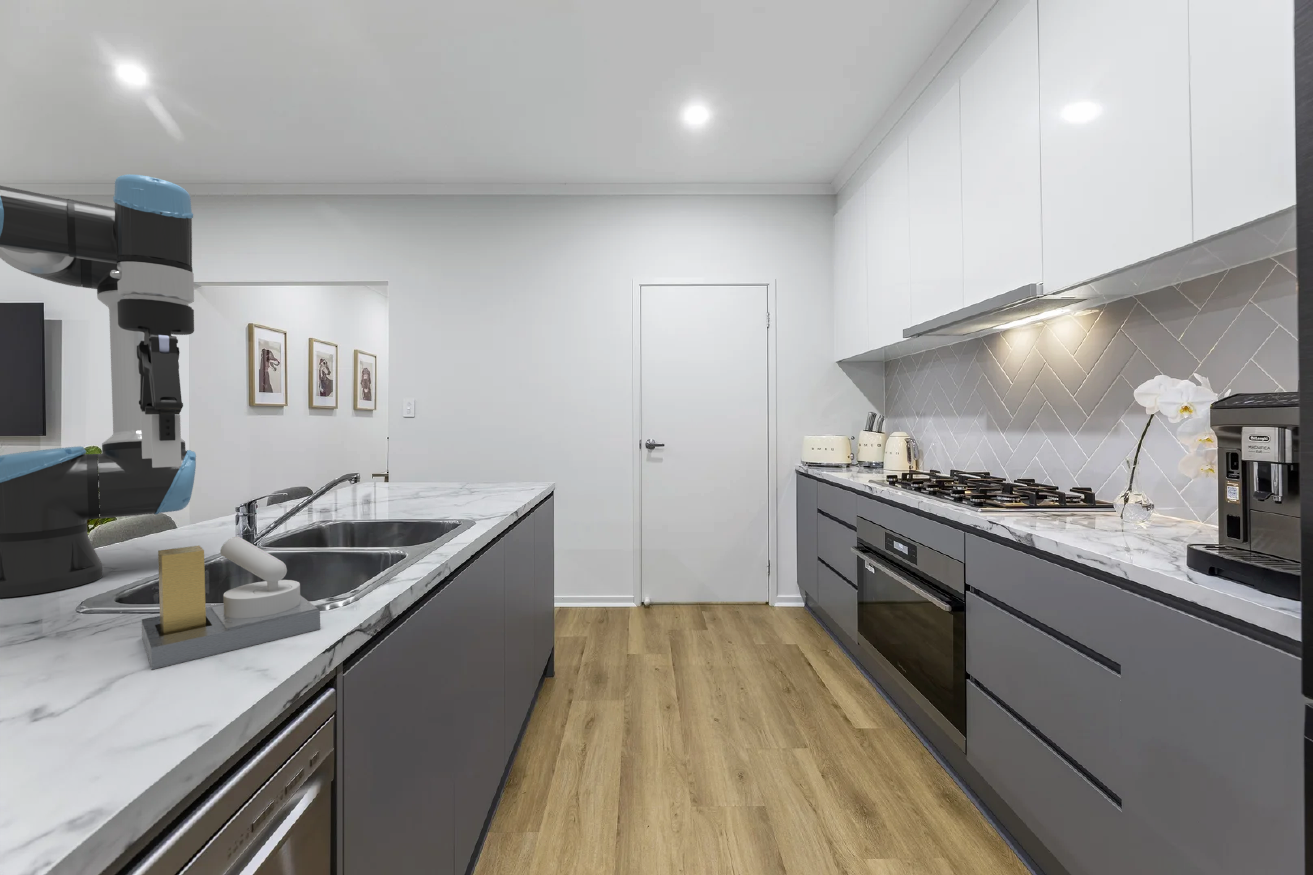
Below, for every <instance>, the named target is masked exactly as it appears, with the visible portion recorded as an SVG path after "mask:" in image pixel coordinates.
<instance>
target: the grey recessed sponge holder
mask: <svg viewBox="0 0 1313 875" xmlns="http://www.w3.org/2000/svg"><path fill="white" fill-rule="evenodd" d="M205 608H206V627H202V628H198V629H193V630H188V631H183V632H179V633H174V634H169V635H164V636H160V615H159V616H154V617H147V618H142V619H140V620H141V621H140V622H141V639H142V644H143V646H144V648H145V652H146V655H147V659H148V662H149V664H150V667H151V670H156V669H160V668H165V667H168V666H173V665H178V664H181V663H185V662H189V661H194V660H198V659H203V658H205V657H210V656H215V655H218V654H219V655H220V654H223V653H227V652H230V651H235V650H239V649H243V648H248V647H252V646H256V645H260V644H264V643H268V642H272V641H276V640H280V639H284V638H288V637H293V636H298V635H301V634H306V633H310V632H314V631H319V630H321V610H319V608H318V607H317V606H315V605H314V604H313V603H311V602H310V601H309V600H307V599H306V598H305V597H304V596H302V595H301V594H300V604H299V605H297V606H296V607H294V608H292V609H289V610H286V611H283V612H280V613H276V614H272V615H266V616H260V617H252V618H231V617H227V616H225V615H224V603H222V604H215V605H209V606H205Z"/></svg>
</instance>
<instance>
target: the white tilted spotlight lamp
mask: <svg viewBox="0 0 1313 875" xmlns="http://www.w3.org/2000/svg"><path fill="white" fill-rule="evenodd" d="M219 550H220V552H219V553H220V555H221V556H222V557H224V558H225V559H227V560H229V561H231V562H232V563H233V564H235V565H237V566H239V567H241V568H242V569H244V570H245V571H247V572H249V573H251V574H253V575H255V576H256V577H258V578H259V579H261V580H262V581H258V582H257V581H256V582H253V583H251V582H250V583H246V584H242V585H240V586H239V585H238V586H237V587H233V588H230V589H228V590H226V591H224V593H223V596H222V597H223V604H224V615H225V616H227V617H231V618H252V617H260V616H266V615H272V614H276V613H280V612H283V611H286V610H289V609H292V608H294V607H296V606H297V605H299V604H300V595H301V583H300V581H297V580H292V579H284V578H285V577H286V575H287V572H288V569H287V565H286V563H284V561H282V560H280V559H279V558H277V557H275V556H273V555H272V554H270V553H268V552H267V551H265V550H263V549H261V548H260V547H258V546H256V545H254V544H252V543H251V542H249V541H247V540H246V539H244V538H242V537H240V536H234V537H230V538H228V540H226V541H225V542H224V543H223V544H222V546H221V548H220V549H219Z"/></svg>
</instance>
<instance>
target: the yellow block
mask: <svg viewBox="0 0 1313 875" xmlns="http://www.w3.org/2000/svg"><path fill="white" fill-rule="evenodd" d="M157 554H158V555H157V556H158V559H157V560H158V589H159V590H158V592H159V596H158V597H159V616H160V636H164V635H169V634H174V633H179V632H183V631H188V630H193V629H198V628H202V627H206V608H205V607H206V578H205V577H206V574H205V572H206V571H205V568H206V567H205V550H204V549H203V547H201V546H200V545H192V546H183V547H176V548H175V547H174V548H168V549H167V548H166V549H161V550H158V552H157Z"/></svg>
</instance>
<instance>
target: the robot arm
mask: <svg viewBox="0 0 1313 875" xmlns="http://www.w3.org/2000/svg"><path fill="white" fill-rule="evenodd" d="M113 202H114V206H113V207H112V206H107V205H103V204H98V203H92V202H87V201H82V200H76V199H71V198H63V197H59V196H55V195H49V194H45V193H44V194H43V193H39V192H35V191H29V190H24V189H19V188H14V187H9V186H4V185H0V259H1V260H2V261H3V262H4V263H6V264H8V265H10V266H11V267H12V268H15V269H17V270H19V271H21V272H24V273H26V274H28V275H31V276H34V277H37V278H40V279H44V280H47V281H51V282H53V283H58V284H61V285H66V286H71V287H76V288H77V287H78V288H83V289H84V288H85V289H93V290H96V294H97V295H96V297H97V300H98V301H99V302H101V303H102V304H103V305H104V306H106V307H107V308H108V313H109V314H108V315H109V339H110V340H109V341H110V342H109V344H110V348H109V349H110V373H111V374H110V376H111V380H110V381H111V404H112V405H111V406H112V407H111V408H112V435H111V436H110V437H108V438H107V439H106V440H105V441H103V442H102V443H101V453H89V454H88V453H87V450H86V449H85V448H84V446H81V445H78V446H68V447H57V448H56V447H55V448H48V449H37V450H31V451H30V450H29V451H21V452H15V453H8V454H7V453H6V454H1V455H0V599H1V598H2V599H3V598H15V597H21V596H23V597H24V596H30V595H31V596H32V595H37V594H38V595H39V594H44V593H50V592H55V591H60V590H65V589H71V588H75V587H78V586H83V585H86V584H89V583H92V582H95V581H97V580H100V579H101V578H102V577H103V563H102V561H101V559H100V557H99V555H98V553H97V551H96V549H95V548H94V546H93V544H92V542H91V540H90V538H89V535H88V520H96V519H109V518H118V517H119V518H120V517H131V516H132V517H133V516H143V515H159V514H162V513H172V512H178V511H181V510H184V509H185V508H186V507H188V505H189V503H190V502H191V499H192V494H193V489H194V484H195V476H196V468H197V461H196V459H197V458H196V457H197V454H196V452H195V451H192V450H190V449H188V450H187V449H186V441H185V440H184V439H182V435H181V432H182V431H181V415H180V414H181V412H182V409H183V407H184V402H183V401H182V392H181V380H180V379H181V378H180V365H179V364H180V363H179V358H180V353H181V352H180V348H179V346H178V343H179V338H177V337H178V335H179V336H187V335H192V334H194V332H195V310H194V309H193V308H192V306H190V304H193V303H194V302H195V283H194V282H195V281H194V278H195V276H194V272H193V271H194V270H193V264H192V263H193V219H194V213H193V212H192V203H191V202H192V201H191V195H190V194H189V192H188V191H187V190H186V189H185V188H184V187H182V186H180V185H178V184H176V183H174V182H171V181H168V180H164V179H161V178H157V177H152V176H148V175H142V174H122V175H119V176H117V178H115V181H114V195H113ZM175 335H176V336H175Z"/></svg>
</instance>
